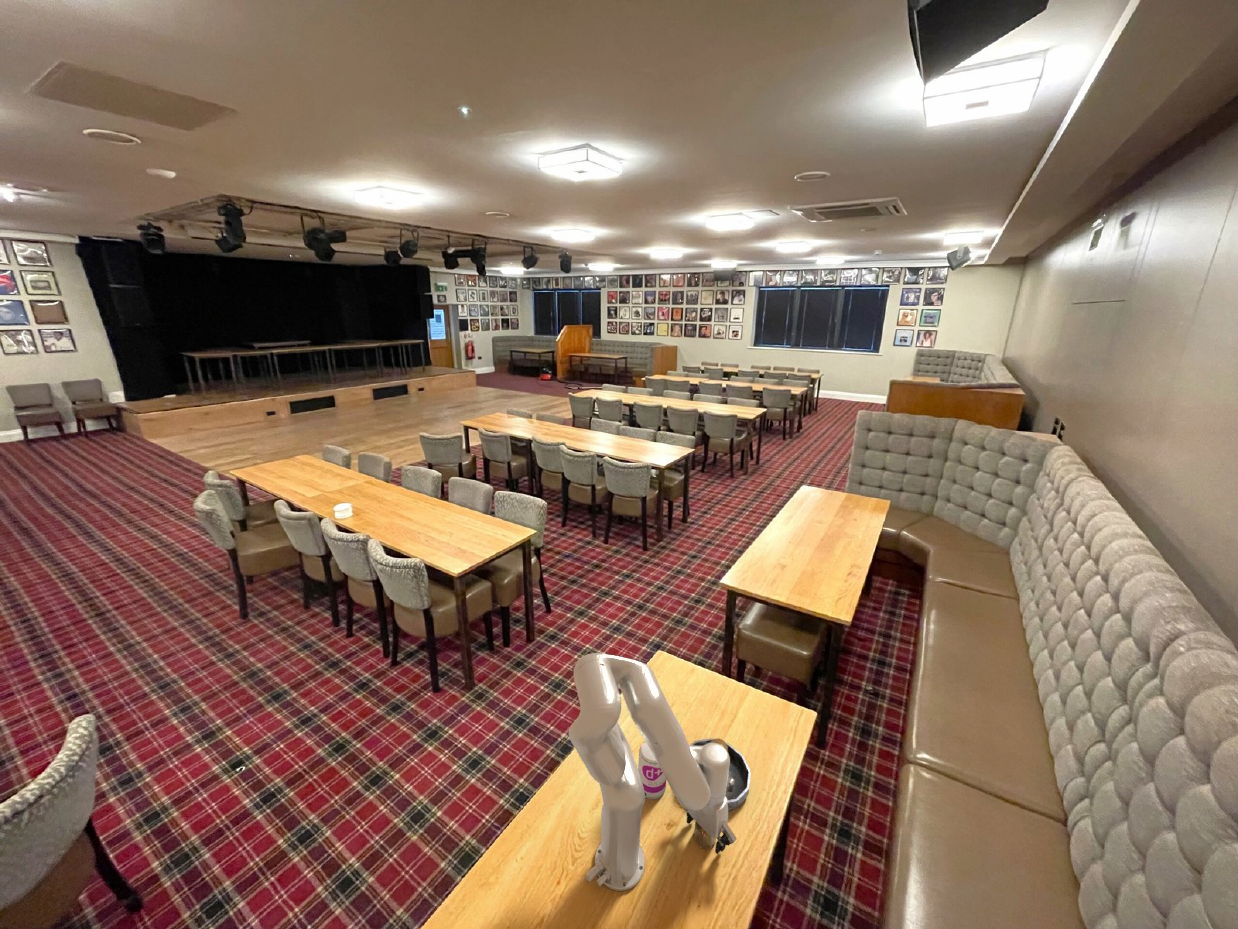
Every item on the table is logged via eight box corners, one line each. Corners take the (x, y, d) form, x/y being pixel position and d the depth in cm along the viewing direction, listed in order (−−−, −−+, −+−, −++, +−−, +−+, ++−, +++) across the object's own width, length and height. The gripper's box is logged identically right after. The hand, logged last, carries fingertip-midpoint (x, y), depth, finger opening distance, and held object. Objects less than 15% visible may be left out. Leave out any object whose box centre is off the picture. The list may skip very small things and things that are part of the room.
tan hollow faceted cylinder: (706, 853, 127) (707, 840, 125) (690, 836, 130) (691, 823, 129) (719, 839, 130) (721, 826, 128) (703, 822, 134) (704, 810, 132)
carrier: (719, 827, 133) (721, 812, 130) (666, 774, 147) (667, 759, 144) (762, 782, 145) (765, 766, 143) (709, 736, 159) (710, 722, 157)
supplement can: (664, 803, 139) (666, 765, 133) (635, 797, 140) (636, 759, 135) (667, 776, 146) (670, 739, 141) (639, 771, 147) (641, 734, 142)
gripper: (675, 773, 127) (671, 818, 134) (729, 826, 115) (722, 873, 121) (694, 756, 132) (689, 800, 138) (748, 805, 120) (741, 851, 126)
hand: (705, 834), depth 130 cm, fingers open, 9 cm apart
